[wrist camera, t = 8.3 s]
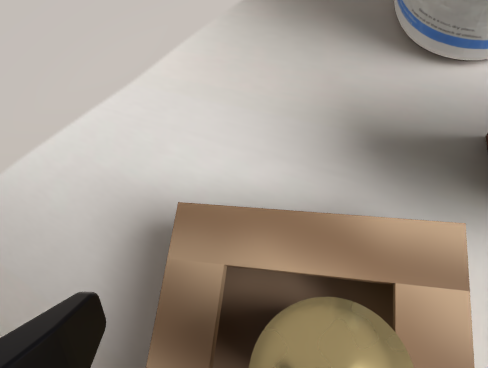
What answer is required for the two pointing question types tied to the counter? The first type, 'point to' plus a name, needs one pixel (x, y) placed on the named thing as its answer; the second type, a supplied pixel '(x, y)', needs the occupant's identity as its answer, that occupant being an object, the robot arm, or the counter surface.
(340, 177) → the counter surface
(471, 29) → the supplement tub
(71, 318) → the robot arm
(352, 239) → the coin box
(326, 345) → the brass cylinder
